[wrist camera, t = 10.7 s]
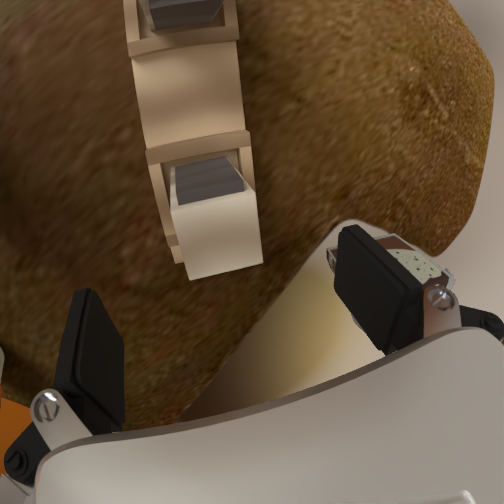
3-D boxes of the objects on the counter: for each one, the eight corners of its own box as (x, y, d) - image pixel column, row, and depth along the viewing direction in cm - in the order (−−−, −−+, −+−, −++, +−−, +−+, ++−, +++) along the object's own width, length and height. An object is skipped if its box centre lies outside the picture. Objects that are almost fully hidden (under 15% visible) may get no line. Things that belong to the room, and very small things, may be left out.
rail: (127, -39, 11) (106, -105, 3) (218, -52, 12) (252, -120, 4) (174, 248, 26) (181, 335, 17) (250, 231, 27) (291, 309, 18)
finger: (169, 159, 19) (167, 200, 13) (224, 147, 20) (253, 181, 13) (182, 216, 22) (189, 280, 15) (233, 205, 22) (263, 262, 16)
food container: (311, 295, 33) (351, 360, 25) (313, 251, 30) (363, 316, 22) (394, 271, 35) (440, 321, 27) (403, 231, 32) (458, 278, 24)
